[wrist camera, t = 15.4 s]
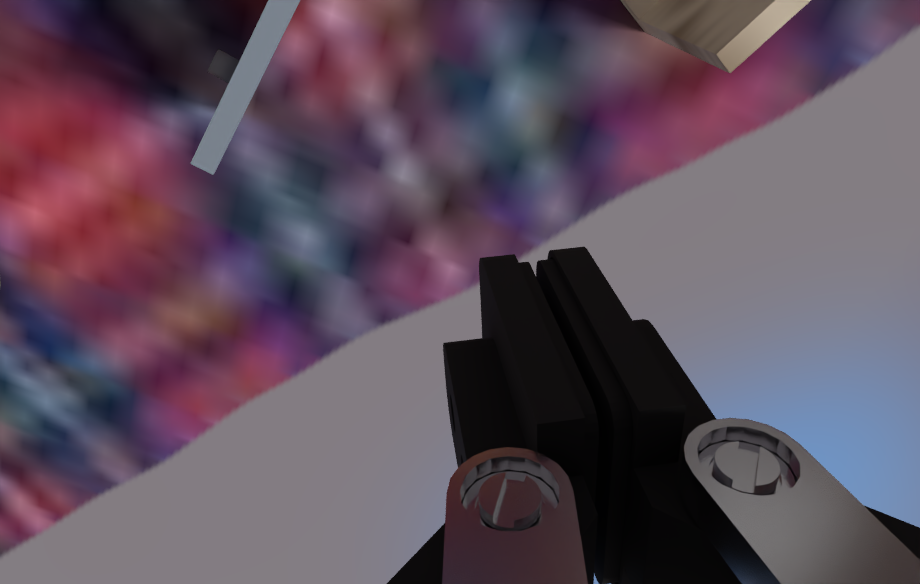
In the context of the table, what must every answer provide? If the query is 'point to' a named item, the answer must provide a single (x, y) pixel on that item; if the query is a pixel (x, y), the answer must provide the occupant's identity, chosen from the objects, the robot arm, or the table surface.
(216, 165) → the door
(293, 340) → the table surface
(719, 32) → the tan open box
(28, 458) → the table surface
